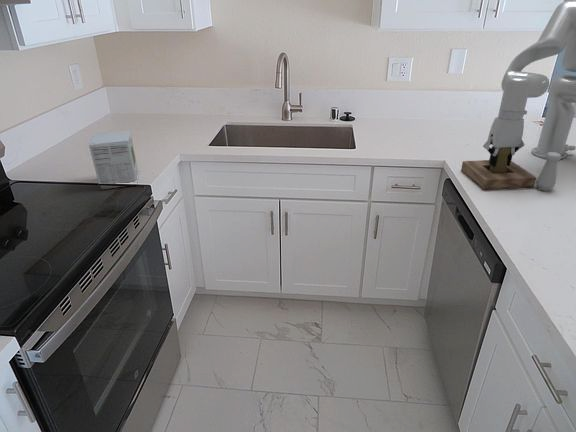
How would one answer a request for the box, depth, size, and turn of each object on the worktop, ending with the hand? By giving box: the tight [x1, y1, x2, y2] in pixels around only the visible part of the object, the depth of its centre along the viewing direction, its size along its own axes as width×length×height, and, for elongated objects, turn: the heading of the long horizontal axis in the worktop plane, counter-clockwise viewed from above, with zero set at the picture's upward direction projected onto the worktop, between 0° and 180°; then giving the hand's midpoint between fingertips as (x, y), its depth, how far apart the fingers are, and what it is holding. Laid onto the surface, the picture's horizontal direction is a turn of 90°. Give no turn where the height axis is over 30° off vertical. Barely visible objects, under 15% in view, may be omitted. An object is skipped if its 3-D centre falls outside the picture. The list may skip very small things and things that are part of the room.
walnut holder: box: [460, 159, 538, 192], centre depth 151 cm, size 18×18×4 cm
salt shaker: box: [535, 152, 562, 192], centre depth 141 cm, size 6×6×13 cm
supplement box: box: [88, 130, 139, 185], centre depth 154 cm, size 13×13×18 cm
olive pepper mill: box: [489, 148, 511, 174], centre depth 149 cm, size 6×6×11 cm
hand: (499, 164), depth 150 cm, fingers closed on olive pepper mill, 4 cm apart
